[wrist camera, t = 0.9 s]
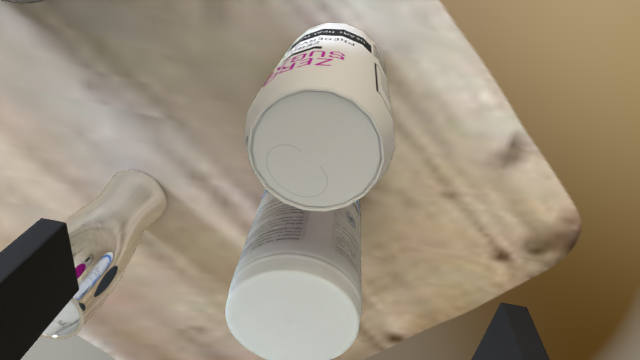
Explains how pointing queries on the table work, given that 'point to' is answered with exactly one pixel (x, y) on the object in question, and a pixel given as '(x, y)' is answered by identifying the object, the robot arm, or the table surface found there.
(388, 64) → the table surface
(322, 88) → the supplement can
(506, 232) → the table surface
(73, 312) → the beer glass
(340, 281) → the supplement tub
